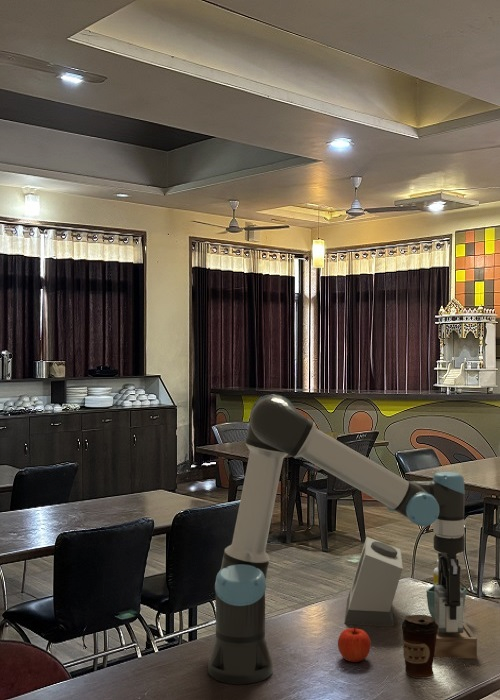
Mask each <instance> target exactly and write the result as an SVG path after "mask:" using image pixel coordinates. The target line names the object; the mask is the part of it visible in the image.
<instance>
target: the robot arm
mask: <svg viewBox="0 0 500 700" xmlns="http://www.w3.org/2000/svg"><path fill="white" fill-rule="evenodd" d="M249 415H250V416H249V424H248V430H247V433H246V438H245V439H246V440H245V445H246V447H247V449H248V450H249V455H248V459H247V460H248V461H247V465H246V471H245V475H244V479H243V480H244V481H243V486H242V491H241V497H240V500H239V501H240V502H239V506H238V511H237V516H236V521H235V526H234V531H233V536H232V541H231V544H230V545H228V546H226V547H225V548H224V553H223V555H222V561H221V567H220V569H219V571H218V572H217V573H216V574H217V575H216V577H215V581H214V582H215V583H214V591H215V640H214V641H213V642H214V643H213V646H212V649H211V652H210V655H209V659H208V663H207V664H208V668H207V670H208V675H209V676H210V677H211V678H212V679H214V680H216V681H219V682H222V683H226V684H232V685H247V684H254V683H258V682H261V681H262V682H263V681H264V680H267V679H268V678H269V677H270V676H272V673H273V671H274V669H273V667H274V666H273V658H272V656H271V652H270V649H269V646H268V642H267V639H266V591H267V589H266V588H267V583H266V580H267V575H268V570H269V565H270V564H269V563H270V560H271V559H270V556H269V554H268V553H267V552H266V549H267V542H268V539H269V532H270V527H271V524H272V523H271V522H272V518H273V513H274V507H275V501H276V498H277V494H278V493H277V492H278V487H279V482H280V476H281V471H282V466H283V462H284V459H285V457H287V456H290V457H292V458H294V459H295V458H303V459H304V460H306V461H308V462H309V463H311V464H313V465H315V466H316V467H318V468H320V469H322V470H324V471H326V472H327V473H329V474H330V475H332V476H334V477H336V478H337V479H339V480H341V481H343V482H344V483H347V484H348V485H350V486H352V487H353V488H355V489H357V490H359V491H361V492H363V493H364V494H366V495H367V496H369V497H371V498H372V499H373V500H376V501H378V502H380V503H382V504H383V505H385V506H386V509H387V510H388V511H390V512H396V513H399V514H400V515H402V516H403V517H405V518H407V519H408V520H409V521H410V522H411V523H413V524H415V525H417V526H420V527H428V526H431V525H433V528H432V529H433V533H434V535H433V550H435V551H437V552H438V553H437V557H438V558H437V559H438V561H439V563H438V565H437V567H438V585H446V589H447V604H444V605H445V606H446V632H458V606H460V587H461V569H462V568H461V565H459V563H460V561H459V558H458V559H457V554H462V553H463V552H465V537H464V534H465V526H467V521H465V501H466V500H465V496H466V495H465V494H466V492H465V479H464V476H463V475H462V474H460V473H458V472H452V471H442V472H440V471H439V472H435V473H434V475H433V478H432V480H427V481H426V480H421V481H420V480H417V481H416V480H406V479H405V478H403V477H401V476H400V475H398V474H396V473H395V472H393V471H391V470H389V469H387V468H386V467H384V466H383V465H380V464H378V463H377V462H375V461H373V460H372V459H370V458H369V457H367V456H365V455H363V454H361V453H359V452H358V451H356V450H354V449H352V448H351V447H349V446H347V445H346V444H344V443H342V442H340V441H339V440H337V439H336V438H334V437H332V436H330V435H328V434H327V433H326V432H324V431H322V430H320V429H318V428H317V426H316V423H315V421H313V420H311V419H309V418H307V416H305V415H303V414H302V413H301V412H299V411H298V409H296V407H295V406H294V404H293V402H291V400H289V399H288V398H287V397H285V396H282V395H280V394H266V395H264V396H262V397H259V399H257V400H256V401H255V403H253V406H252V407H251V410H250V414H249Z"/></svg>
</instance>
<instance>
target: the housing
mask: <svg viewBox="0 0 500 700" xmlns="http://www.w3.org/2000/svg"><path fill="white" fill-rule="evenodd" d="M434 590H435V601H434V618H435V619H436V621H435V623H437V624H438V632H439V633H463V623H464V608H463V598H464V593H463V591H462V590H461V589H460V606H458V632H446V606H445V605H444V604H447V589H446V585H434Z"/></svg>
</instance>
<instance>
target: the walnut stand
mask: <svg viewBox="0 0 500 700" xmlns="http://www.w3.org/2000/svg"><path fill="white" fill-rule="evenodd" d="M477 641H478V638H477V637H476V635H475V634H474V632H473V631H472V630H471V629H470V627H469V625H468V624H467V623H466V622H463V633H439V632H438V633H437V637H436V651H435V657H434V659H478V650H477V649H478V642H477Z"/></svg>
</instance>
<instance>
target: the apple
mask: <svg viewBox="0 0 500 700" xmlns="http://www.w3.org/2000/svg"><path fill="white" fill-rule="evenodd" d="M356 627H357V626H353V627H352V628H351V627H350V628H346V629H344V630H342V631H341V633H340V634H339V636H338V639H337V648H338V651H339V653H340V655H341V657H343V658H344V659H345V660H346V661H348V662H353V663H357V662H358V663H359V662H362V661H364V660H365V659H366V658H367V657H368V655H369V653H370V652H371V651H370V650H371V644H372V643H371V639H370V635H368V633H367V632H366V631H365V630H364V629H359V628H356Z"/></svg>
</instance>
